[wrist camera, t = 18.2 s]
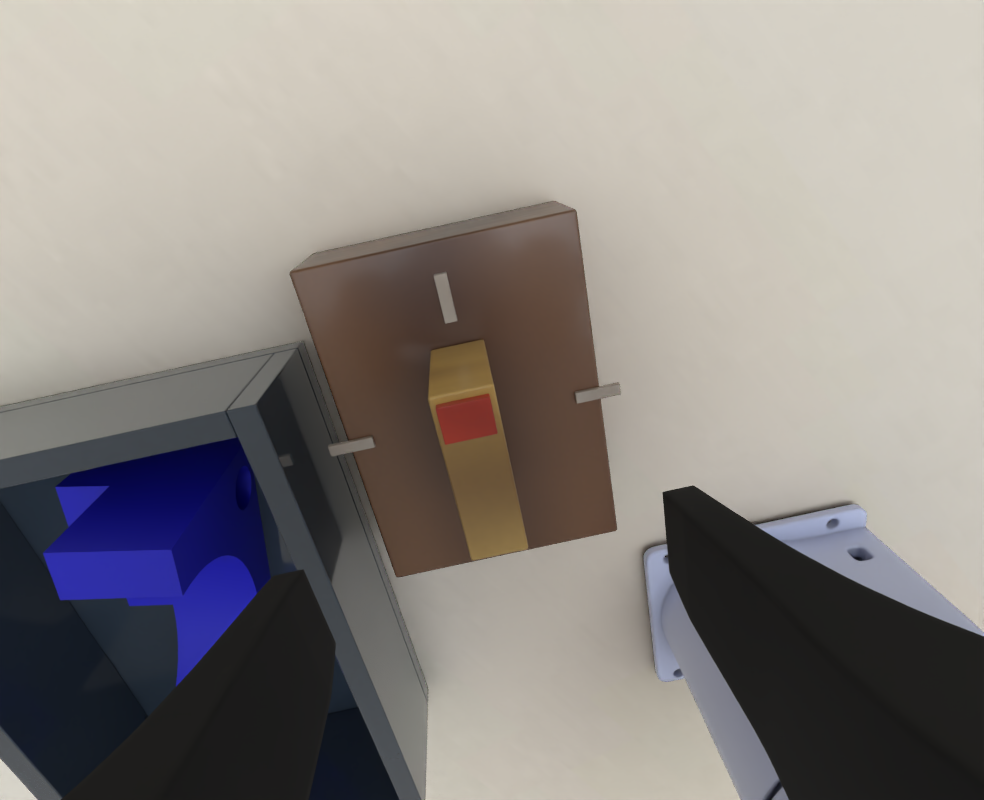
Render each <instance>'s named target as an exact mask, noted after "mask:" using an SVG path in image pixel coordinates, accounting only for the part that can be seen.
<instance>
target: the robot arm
mask: <svg viewBox="0 0 984 800" xmlns="http://www.w3.org/2000/svg"><path fill="white" fill-rule="evenodd" d="M663 503H664V515H665V527H666V539H667V544H664V545H659V546H654V547H652V548H649V549H648V550H647V551H646V552H645V554H644V557H643V559H644V569H645V578H646V588H647V597H648V606H649V616H650V625H651V634H652V644H653V653H654V663H655V671H656V674H657V676H658V679H659V680H661V681H664V682H669V681H674V680H679V679H683V678H685V680H686V682H687V684H688V687H689V689H690V691H691V693H692V695H693V697H694V700H695V702H696V704H697V706H698V708H699V710H700V713H701V715H702V717H703V719H704V721H705V723H706V726H707V728H708V730H709V732H710V734H711V736H712V739H713V741H714V743H715V745H716V747H717V749H718V752H719V754H720V756H721V758H722V760H723V762H724V765H725V767H726V769H727V771H728V773H729V775H730V778H731V780H732V782H733V784H734V786H735V788H736V791H737V793H738V795H739V797H740V799H741V800H984V632H983V631H982V630H981V629H979V628H978V627H977V626H976V625H975V624H974V623H973V622H972V621H971V620H970V619H969V618H968V617H966V616H965V615H964V614H963V613H962V612H961V611H960V610H959V609H957V608H956V607H955V606H954V605H953V604H952V603H951V602H950V601H948V600H947V599H946V598H945V597H944V596H943V595H942V594H940V593H939V592H938V591H937V590H936V589H935V588H934V587H933V586H931V585H930V584H929V583H928V582H927V581H926V580H925V579H924V578H922V577H921V576H920V575H919V574H918V573H917V572H916V571H914V570H913V569H912V568H911V567H910V566H909V565H908V564H907V563H905V562H904V561H903V560H902V559H901V558H900V557H899V556H898V555H896V554H895V553H894V552H893V551H892V550H891V549H890V548H888V547H887V546H886V545H885V544H884V543H883V542H882V541H881V540H879V539H878V538H877V537H876V536H875V535H874V534H873V533H872V532H870V531H869V530H868V529H867V528H866V519H867V513H866V511H865V510H864V509H863V508H862V507H861V506H859V505H857V504H851V505H846V506H841V507H837V508H832V509H827V510H823V511H818V512H813V513H809V514H804V515H799V516H795V517H790V518H785V519H781V520H776V521H771V522H766V523H762V524H757V525H754V524H752V523H751V522H749V521H747V520H746V519H744V518H743V517H741V516H740V515H738V514H736V513H735V512H733V511H732V510H730V509H729V508H727V507H726V506H724V505H723V504H721V503H720V502H718V501H716V500H715V499H713V498H712V497H710V496H709V495H707V494H706V493H704V492H703V491H701V490H700V489H698V488H696V487H695V486H689V487H684V488H680V489H675V490H670V491H666V492H663ZM831 519H832V520H831ZM829 520H831V521H830V522H828V521H829ZM827 522H828V523H827ZM667 554H668V557H665V556H666V555H667ZM335 650H336V642H335V640H334V638H333V635H332V633H331V631H330V629H329V626H328V624H327V622H326V619H325V617H324V615H323V613H322V610H321V608H320V606H319V604H318V601H317V599H316V597H315V594H314V592H313V590H312V588H311V585H310V583H309V581H308V579H307V576H306V574H305V572H304V569H302V570H298V571H293V572H288V573H284V574H279V575H274V576H273V577H272V578H271V579H270V580H269V581H268V582H267V583H266V584H265V585H264V586H263V587H262V589H261V590H260V591H259V592H258V593H257V594H256V595H255V597H254V598H253V599H252V600H251V601H250V602H249V604H248V605H247V606H246V607H245V608H244V610H243V611H242V612H241V613H240V614H239V615H238V617H237V618H236V619H235V620H234V621H233V623H232V624H231V625H230V626H229V627H228V628H227V630H226V631H225V632H224V633H223V634H222V635H221V637H220V638H219V639H218V640H217V641H216V642H215V644H214V645H213V646H212V647H211V648H210V649H209V650H208V652H207V653H206V654H205V655H204V656H203V657H202V659H201V660H200V661H199V662H198V663H197V664H196V665H195V667H194V668H193V669H192V670H191V671H190V672H189V673H188V674H187V675H186V676H185V677H184V679H183V680H182V681H181V682H180V683H179V684H178V685H177V686H176V687H175V688H174V689H173V690H172V692H171V693H170V694H169V695H168V696H167V697H166V698H165V699H164V700H163V701H162V702H161V703H160V705H159V706H158V707H157V708H156V709H155V710H154V711H153V712H152V713H151V714H150V715H149V716H148V717H147V718H146V719H145V720H144V722H143V723H142V724H141V725H140V726H139V727H138V728H137V729H136V730H135V731H134V732H133V733H132V734H131V735H130V736H129V737H128V738H127V739H126V740H125V741H124V742H123V743H122V744H121V745H120V746H118V747H117V748H116V749H115V750H114V751H113V752H112V753H111V754H110V755H109V756H108V757H107V758H106V759H105V760H104V761H103V762H102V763H101V764H100V765H98V766H97V767H96V768H95V769H94V770H93V771H92V772H91V773H90V774H89V775H88V776H87V777H86V778H85V779H83V780H82V781H81V782H80V783H79V784H78V785H77V786H76V787H75V788H74V789H72V790H71V791H70V792H69V793H68V794H67V795H65V796H64V797H63V798H62V799H61V800H309V796H310V792H311V787H312V783H313V778H314V774H315V769H316V765H317V760H318V756H319V751H320V747H321V742H322V738H323V733H324V728H325V724H326V719H327V714H328V710H329V705H330V700H331V694H332V685H333V675H334V663H335Z"/></svg>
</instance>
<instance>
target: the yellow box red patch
mask: <svg viewBox="0 0 984 800" xmlns="http://www.w3.org/2000/svg"><path fill="white" fill-rule="evenodd" d="M428 402H429V406H430V409H431V413H432V417H433V421H434V424H435V428H436V432H437V435H438V439H439V443H440V446H441V450H442V454H443V457H444V461H445V465H446V469H447V472H448V476H449V480H450V483H451V487H452V491H453V494H454V498H455V502H456V505H457V509H458V513H459V517H460V520H461V524H462V528H463V531H464V535H465V539H466V542H467V546H468V550H469V553H470V557H471V559H472V560H473V561H474V560H479V559H484V558H488V557H493V556H498V555H502V554H507V553H512V552H516V551H521V550H526V549H528V542H527V538H526V533H525V528H524V524H523V519H522V514H521V510H520V505H519V500H518V495H517V491H516V486H515V481H514V477H513V472H512V467H511V463H510V458H509V453H508V448H507V444H506V439H505V434H504V430H503V425H502V420H501V416H500V411H499V406H498V402H497V397H496V392H495V387H494V383H493V378H492V374H491V369H490V365H489V360H488V356H487V351H486V347H485V342H484V340H477V341H473V342H468V343H463V344H459V345H454V346H450V347H445V348H440V349H436V350H432V351H431V354H430V371H429V388H428Z"/></svg>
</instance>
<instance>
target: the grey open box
mask: <svg viewBox="0 0 984 800" xmlns="http://www.w3.org/2000/svg"><path fill="white" fill-rule="evenodd" d="M233 438H238V439H239V441H240V444H241V446H242V448H243V450H244V453H245V455H246V457H247V459H248V462H249V464H250V466H251V468H252V471H253V473H254V479H255V485H256V491H257V497H258V503H259V509H260V515H261V522H262V528H263V534H264V540H265V546H266V552H267V558H268V564H269V570H270V577H271V578H272V577H273V576H274V575H279V574H284V573H288V572H293V571H298V570H302V569H304V572H305V574H306V576H307V579H308V581H309V583H310V585H311V588H312V590H313V592H314V594H315V597H316V599H317V601H318V604H319V606H320V608H321V610H322V613H323V615H324V617H325V619H326V622H327V624H328V626H329V629H330V631H331V633H332V635H333V638H334V640H335V642H336V650H335V663H334V675H333V685H332V694H331V700H330V705H329V710H328V714H327V719H326V724H325V728H324V733H323V738H322V742H321V747H320V751H319V756H318V760H317V765H316V769H315V774H314V778H313V783H312V787H311V792H310V796H309V800H425V797H426V759H427V720H428V687H427V684H426V682H425V679H424V676H423V673H422V670H421V668H420V665H419V662H418V659H417V657H416V654H415V651H414V648H413V645H412V643H411V640H410V637H409V634H408V632H407V629H406V626H405V623H404V620H403V618H402V615H401V612H400V609H399V607H398V604H397V601H396V598H395V595H394V593H393V590H392V587H391V584H390V582H389V579H388V576H387V573H386V570H385V568H384V565H383V562H382V559H381V557H380V554H379V551H378V548H377V545H376V543H375V540H374V537H373V534H372V532H371V529H370V526H369V523H368V520H367V518H366V515H365V512H364V509H363V507H362V504H361V501H360V498H359V495H358V493H357V490H356V487H355V484H354V482H353V479H352V476H351V473H350V470H349V468H348V465H347V462H346V459H345V457H344V454H342V455H337V456H333V457H331V454H330V452H329V449H328V445H330V444H335V443H339V440H338V437H337V434H336V432H335V429H334V426H333V423H332V420H331V418H330V415H329V412H328V409H327V406H326V404H325V401H324V398H323V395H322V393H321V390H320V387H319V384H318V381H317V379H316V376H315V373H314V370H313V368H312V365H311V362H310V359H309V356H308V354H307V351H306V348H305V345H304V343H303V342H302V341H300V342H296V343H291V344H287V345H282V346H277V347H273V348H268V349H264V350H259V351H254V352H250V353H245V354H241V355H236V356H231V357H227V358H222V359H218V360H213V361H208V362H204V363H199V364H195V365H190V366H185V367H181V368H176V369H172V370H167V371H162V372H158V373H153V374H149V375H144V376H139V377H135V378H130V379H126V380H121V381H116V382H112V383H107V384H103V385H98V386H93V387H89V388H84V389H80V390H75V391H70V392H66V393H61V394H57V395H52V396H47V397H43V398H38V399H34V400H29V401H24V402H20V403H15V404H11V405H6V406H1V407H0V758H1V760H2V761H3V762H4V763H5V764H6V765H7V766H8V767H9V768H10V770H11V771H12V772H13V773H14V774H15V775H16V776H17V777H18V778H19V779H20V781H21V782H22V783H23V784H24V785H25V786H26V787H27V788H28V789H29V791H30V792H31V793H32V794H33V795H34V796H35V797H36V798H37V799H38V800H61V799H62V798H63V797H64V796H65V795H67V794H68V793H69V792H70V791H71V790H72V789H74V788H75V787H76V786H77V785H78V784H79V783H80V782H81V781H82V780H83V779H85V778H86V777H87V776H88V775H89V774H90V773H91V772H92V771H93V770H94V769H95V768H96V767H97V766H98V765H100V764H101V763H102V762H103V761H104V760H105V759H106V758H107V757H108V756H109V755H110V754H111V753H112V752H113V751H114V750H115V749H116V748H117V747H118V746H120V745H121V744H122V743H123V742H124V741H125V740H126V739H127V738H128V737H129V736H130V735H131V734H132V733H133V732H134V731H135V730H136V729H137V728H138V727H139V726H140V725H141V724H142V723H143V722H144V720H145V719H146V718H147V717H148V716H149V715H150V714H151V713H152V712H153V711H154V710H155V709H156V708H157V707H158V706H159V705H160V703H161V702H162V701H163V700H164V699H165V698H166V697H167V696H168V695H169V694H170V693H171V692H172V690H173V689H174V688H175V687H176V681H177V669H178V634H177V624H176V618H175V612H174V607H173V605H147V606H129V604H128V601H127V599H126V598H112V599H82V600H60V599H59V596H58V593H57V590H56V588H55V585H54V582H53V579H52V577H51V574H50V571H49V569H48V566H47V563H46V560H45V558H44V555H43V552H44V551H45V550H46V549H47V548H48V547H49V546H50V545H51V544H52V543H53V542H54V541H55V540H56V539H57V538H58V537H59V536H60V535H61V534H62V533H63V532H64V531H65V530H66V529H67V528H68V524H67V521H66V518H65V515H64V512H63V509H62V506H61V503H60V500H59V497H58V494H57V491H56V488H55V487H56V486H57V485H58V484H59V483H60V482H62V481H63V480H64V479H65V478H66V477H67V476H69V475H70V474H71V473H76V472H80V471H85V470H90V469H94V468H99V467H103V466H108V465H113V464H117V463H122V462H127V461H131V460H136V459H140V458H145V457H150V456H154V455H159V454H164V453H168V452H173V451H177V450H182V449H187V448H191V447H196V446H200V445H205V444H210V443H214V442H219V441H224V440H228V439H233Z"/></svg>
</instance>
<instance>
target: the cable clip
mask: <svg viewBox="0 0 984 800" xmlns="http://www.w3.org/2000/svg"><path fill="white" fill-rule="evenodd" d="M55 488H56V491H57V494H58V497H59V500H60V503H61V506H62V509H63V512H64V515H65V518H66V521H67V524H68V528H67V529H66V530H65V531H64V532H63V533H62V534H61V535H60V536H59V537H58V538H57V539H56V540H55V541H54V542H53V543H52V544H51V545H50V546H49V547H48V548H47V549H46V550H45V551H44V552H43V555H44V558H45V560H46V563H47V566H48V569H49V571H50V574H51V577H52V579H53V582H54V585H55V588H56V590H57V593H58V596H59V599H60V600H82V599H112V598H126V599H127V601H128V604H129V606H147V605H173V607H174V612H175V618H176V624H177V634H178V669H177V681H176V686H177V685H178V684H179V683H180V682H181V681H182V680H183V679H184V677H185V676H186V675H187V674H188V673H189V672H190V671H191V670H192V669H193V668H194V667H195V665H196V664H197V663H198V662H199V661H200V660H201V659H202V657H203V656H204V655H205V654H206V653H207V652H208V650H209V649H210V648H211V647H212V646H213V645H214V644H215V642H216V641H217V640H218V639H219V638H220V637H221V635H222V634H223V633H224V632H225V631H226V630H227V628H228V627H229V626H230V625H231V624H232V623H233V621H234V620H235V619H236V618H237V617H238V615H239V614H240V613H241V612H242V611H243V610H244V608H245V607H246V606H247V605H248V604H249V602H250V601H251V600H252V599H253V598H254V597H255V595H256V594H257V593H258V592H259V591H260V590H261V589H262V587H263V586H264V585H265V584H266V583H267V582H268V581H269V580H270V579H271V577H270V570H269V564H268V558H267V552H266V546H265V540H264V534H263V528H262V522H261V515H260V509H259V503H258V497H257V491H256V485H255V479H254V473H253V471H252V468H251V466H250V464H249V462H248V459H247V457H246V455H245V453H244V450H243V448H242V446H241V444H240V441H239V439H238V438H233V439H228V440H224V441H219V442H214V443H210V444H205V445H200V446H196V447H191V448H187V449H182V450H177V451H173V452H168V453H164V454H159V455H154V456H150V457H145V458H140V459H136V460H131V461H127V462H122V463H117V464H113V465H108V466H103V467H99V468H94V469H90V470H85V471H80V472H76V473H71V474H70V475H69V476H67V477H66V478H65V479H64V480H63V481H62V482H60V483H59V484H58V485H57V486H56V487H55Z"/></svg>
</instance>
